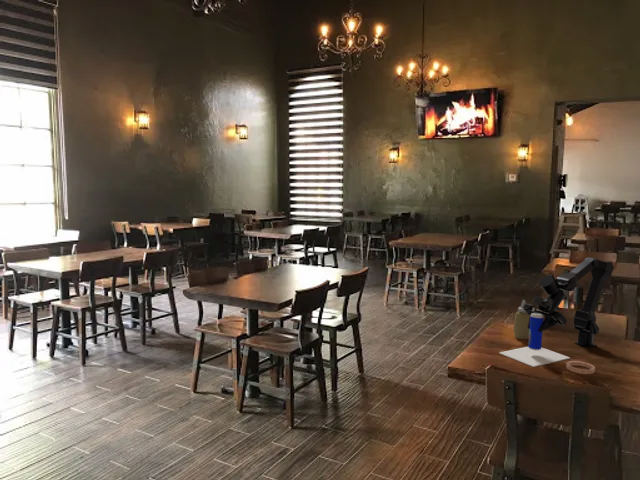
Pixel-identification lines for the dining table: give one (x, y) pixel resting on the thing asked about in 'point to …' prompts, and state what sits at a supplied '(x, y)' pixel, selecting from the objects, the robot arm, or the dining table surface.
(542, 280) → the robot arm
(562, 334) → the dining table surface
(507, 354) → the grey mat
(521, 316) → the squeeze bottle
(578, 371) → the terracotta ring
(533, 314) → the beverage can
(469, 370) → the dining table surface
